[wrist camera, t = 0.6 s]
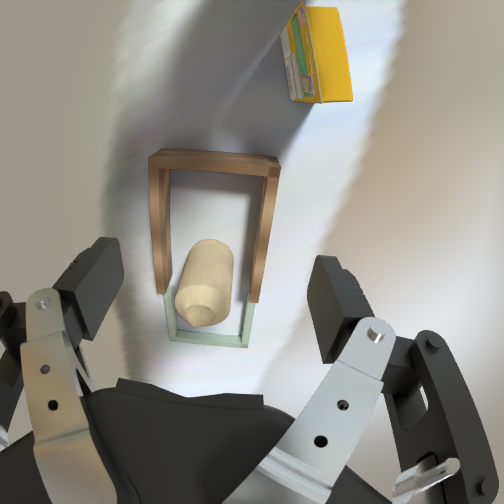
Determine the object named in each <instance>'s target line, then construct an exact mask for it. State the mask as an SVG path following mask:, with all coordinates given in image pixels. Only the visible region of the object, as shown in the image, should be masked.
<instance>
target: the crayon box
mask: <svg viewBox="0 0 504 504" xmlns="http://www.w3.org/2000/svg"><path fill="white" fill-rule="evenodd" d="M280 40H281V45H282V51H283V56H284V62H285V68H286V75H287V80H288V86H289V92H290V99H291V100H292V101H300V102H309V103H320V104H322V103H328V102H351V101H353V95H352V86H351V78H350V71H349V64H348V57H347V51H346V45H345V40H344V34H343V30H342V25H341V21H340V17H339V12H338V9H337V8H336V7H308V6H307V7H305V3H304V0H301V2H300V3H299V5H298V7H297V8H296V10H295V12H294V13H293V15H292V16H291V18H290V19H289V21H288V23H287V24H286V26H285V27H284V29H283V31H282V32H281V34H280Z"/></svg>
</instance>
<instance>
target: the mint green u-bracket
mask: <svg viewBox="0 0 504 504" xmlns="http://www.w3.org/2000/svg"><path fill="white" fill-rule="evenodd" d="M164 300H165V308H166V316H167V323H168V330H169V337H170V341H177V342H185V343H194V344H203V345H213V346H224V347H236V348H248V343H249V337H250V331H251V326H252V320H253V314H254V308H255V303H250V293H248V296H247V303H246V310H245V317H244V324H243V331H242V336H229V335H218V334H208V333H198V332H189V331H181V330H177V321H176V311H175V300H174V288H173V286H170V285H168V288H167V291H166V294H164Z"/></svg>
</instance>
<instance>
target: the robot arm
mask: <svg viewBox="0 0 504 504" xmlns="http://www.w3.org/2000/svg"><path fill="white" fill-rule="evenodd" d="M123 278H124V270H123V264H122V258H121V251H120V245H119V241H118V239H117V238H108V237H99V238H98V239H97V241H96V242H95V243H94V244H93V245H92V246H91V248H87V249H86V250H84V251H83V252H81V253H80V254H79V255H78V256H77V257H76V258H75V259H74V261H73V263H71V264H70V266H69V267H68V269H66V270H65V272H64V273H63V274H62V275H61V276H60V278H59V279H58V280H57V282H56V283H55V284H54V285H53V287H52V288H43V289H40V290H38V291H36V292H34V293H33V294H32V295H31V296H30V297H29V298H28V300H27V302H22V303H14V302H13V300H12V298H11V296H10V294H9V293H8V292H5V291H1V292H0V340H1V342H2V343H3V345H4V347H5V348H6V350H5V352H4V353H3V355H2V357H1V359H0V504H492V502H493V501H494V499H495V498H496V496H497V493H498V489H499V480H498V475H497V471H496V467H495V464H494V460H493V456H492V453H491V450H490V446H489V443H488V440H487V437H486V434H485V431H484V428H483V425H482V422H481V419H480V417H479V414H478V412H477V409H476V406H475V404H474V401H473V399H472V397H471V394H470V392H469V389H468V387H467V385H466V383H465V380H464V378H463V376H462V374H461V372H460V369H459V367H458V365H457V363H456V361H455V359H454V357H453V355H452V353H451V351H450V349H449V347H448V345H447V344H446V342H445V340H444V339H443V338H442V337H441V336H440V335H439V334H437V333H435V332H433V331H429V330H423V331H421V332H419V333H418V334H417V336H416V338H415V339H414V340H412V339H407V338H403V337H398V336H396V335H395V332H394V330H393V328H392V327H391V326H390V325H389V324H388V323H386V322H385V321H383V320H381V319H379V318H375V315H374V313H373V311H372V309H371V307H370V305H369V303H368V301H367V299H366V297H365V295H363V291H362V289H361V288H360V285H359V283H358V281H357V280H356V278H355V276H353V275H352V274H351V273H350V272H349V271H348V270H347V269H346V270H345V269H342V267H341V265H340V263H339V261H338V259H337V257H334V256H324V255H318V256H317V257H316V259H315V262H314V266H313V270H312V274H311V277H310V281H309V285H308V289H307V301H308V305H309V309H310V313H311V316H312V320H313V325H314V329H315V332H316V337H317V341H318V345H319V349H320V353H321V357H322V362H323V364H332V363H333V365H332V367H331V369H330V370H329V372H328V373H327V375H326V377H325V378H324V380H323V381H322V383H321V384H320V386H319V387H318V389H317V390H316V392H315V393H314V395H313V396H312V398H311V399H310V401H309V402H308V404H307V405H306V406H305V408H304V409H303V410H302V412H301V413H300V415H299V416H298V417H297V419H295V418H294V417H292V416H290V415H289V414H287V413H285V412H283V411H281V410H279V409H276V408H274V407H270V406H267V405H264V403H263V395H254V394H233V393H223V394H216V395H208V396H200V397H190V398H188V397H183V396H180V395H178V394H175V393H172V392H170V391H167V390H165V389H162V388H160V387H157V386H155V385H152V384H148V383H142V382H137V381H132V380H127V379H122V378H118V381H117V384H116V387H115V388H114V387H112V388H105V389H100V390H97V391H96V389H95V387H94V385H93V382H92V379H91V377H90V374H89V370H88V367H87V365H86V361H85V358H84V355H83V351H82V348H81V346H80V342H81V340H82V339H86V340H90V341H93V340H94V338H95V335H96V333H97V331H98V329H99V327H100V325H101V323H102V321H103V319H104V317H105V315H106V313H107V311H108V309H109V307H110V306H111V304H112V302H113V300H114V298H115V296H116V294H117V292H118V291H119V289H120V287H121V285H122V283H123ZM422 386H423V389H424V392H425V394H426V397H427V400H428V410H426V407H425V404H424V401H423V398H422V395H421V392H420V388H421V387H422ZM23 387H24V388H25V394H26V400H27V405H28V411H29V416H30V420H31V424H32V429H33V431H31V432H30V433H28V434H26V435H25V436H24V437H22V438H20V439H19V440H17V441H16V442H14V443H13V444H10V443H9V442H8V436H7V432H8V429H9V426H10V422H11V419H12V417H13V414H14V411H15V408H16V405H17V402H18V400H19V397H20V394H21V392H22V389H23ZM380 393H383V394H384V398H385V402H386V405H387V409H388V413H389V417H390V421H391V425H392V430H393V434H394V439H395V443H396V448H397V452H398V457H399V462H400V467H401V475H400V476H399V477H398V479H397V481H396V483H395V488H394V489H393V492H392V495H393V497H394V499H393V501H392V502H391V501H389V500H388V499H387V498H385V497H384V496H383V495H381V494H380V493H379V492H378V491H377V490H375V489H374V488H373V487H372V486H370V485H369V484H368V483H367V482H365V481H364V480H363V479H362V478H360V477H359V476H358V475H357V474H356V473H355V472H353V471H352V470H351V469H350V468H349V467H348V466H347V465H346V462H347V461H348V459H349V457H350V456H351V454H352V452H353V450H354V448H355V446H356V444H357V443H358V440H359V439H360V437H361V435H362V433H363V431H364V429H365V426H366V424H367V422H368V420H369V418H370V416H371V414H372V411H373V409H374V407H375V404H376V402H377V400H378V397H379V395H380Z"/></svg>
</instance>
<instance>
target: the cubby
mask: <svg viewBox="0 0 504 504" xmlns="http://www.w3.org/2000/svg"><path fill="white" fill-rule="evenodd" d="M170 169H183V170H200V171H214V172H226V173H237V174H247V175H257V176H264V181H263V188H262V195H261V203H260V210H259V217H258V224H257V231H256V238H255V246H254V253H253V260H252V267H251V274H250V303H258V301H259V295H260V290H261V284H262V278H263V273H264V267H265V261H266V255H267V249H268V243H269V237H270V231H271V225H272V219H273V213H274V207H275V201H276V195H277V188H278V182H279V176H280V169H281V167H280V165H279V162H278V160H277V158H276V157H268V156H259V155H250V154H240V153H229V152H216V151H201V150H181V149H160V150H159V151H157V152H156V153H155V154H153V155H152V156H150V157H149V202H150V221H151V235H152V248H153V258H154V268H155V277H156V286H157V293H160V294H166V291H167V288H168V285H169V282H170V280H171V277H172V257H171V236H170Z"/></svg>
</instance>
